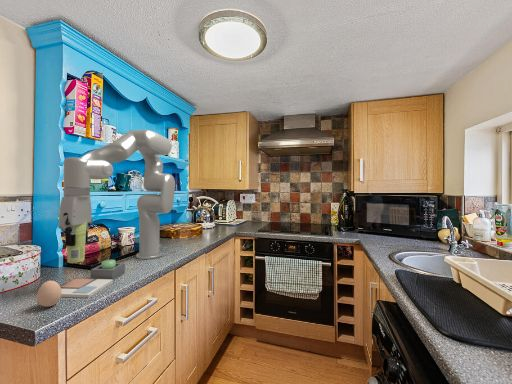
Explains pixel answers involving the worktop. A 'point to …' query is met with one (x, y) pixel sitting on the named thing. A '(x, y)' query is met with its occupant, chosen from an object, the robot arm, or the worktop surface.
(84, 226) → the tube
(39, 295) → the egg
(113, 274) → the button housing
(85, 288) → the board
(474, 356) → the worktop surface
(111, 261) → the button
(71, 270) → the worktop surface
